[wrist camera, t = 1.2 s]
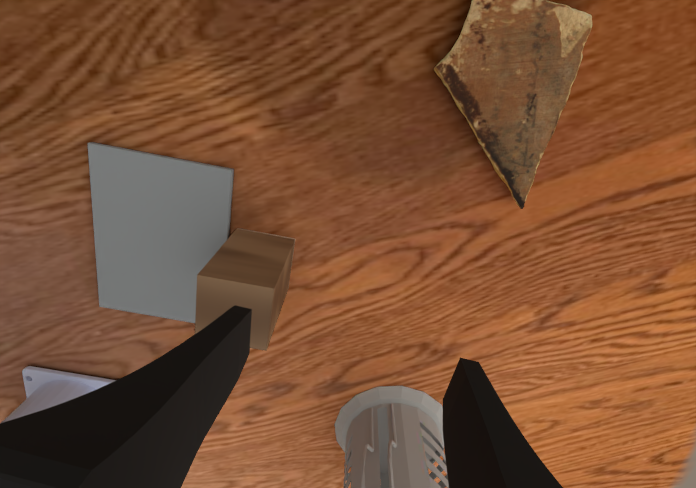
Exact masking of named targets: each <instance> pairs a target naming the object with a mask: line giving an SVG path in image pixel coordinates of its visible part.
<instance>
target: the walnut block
mask: <svg viewBox="0 0 696 488" xmlns="http://www.w3.org/2000/svg"><path fill="white" fill-rule="evenodd" d="M294 245H295V239H294V238H289V237H284V236H278V235H273V234H267V233H262V232H256V231H251V230H245V229H240V228H237V229H236V230H235V231H234V232H233V234H232V235H231V236H230V237H229V238H228V239H227V241H226V242H225V243H224V244H223V245H222V246H221V248H220V249H219V250H218V251H217V252H216V253H215V255H214V256H213V257H212V258H211V259H210V260H209V262H208V263H207V264H206V265H205V266H204V267H203V269H202V270H201V271H200V272H199V273H198V274H197V290H196V315H195V334H196V333H198V332H199V331H200V330H202V329H203V328H205V327H206V326H207V325H209V324H210V323H211V322H213V321H214V320H215V319H217V318H218V317H219V316H221V315H222V314H223V313H225V312H226V311H227V310H229V309H230V308H231V307H233V306H235V305H236V306H240V307H245V308H249V309H252V317H251V334H250V348H254V349H260V350H267V347H268V345H269V342H270V339H271V336H272V333H273V331H274V328H275V325H276V322H277V319H278V316H279V314H280V311H281V308H282V305H283V302H284V299H285V297H286V294H287V291H288V287H289V280H290V273H291V266H292V259H293V252H294Z"/></svg>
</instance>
